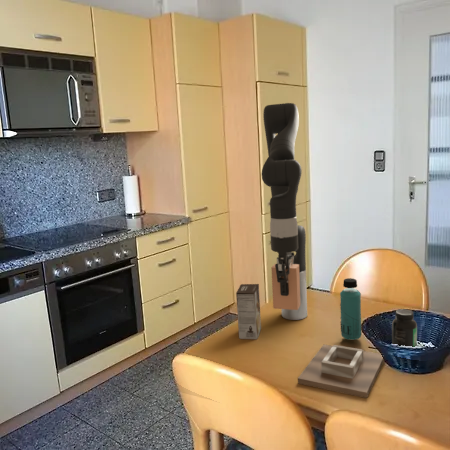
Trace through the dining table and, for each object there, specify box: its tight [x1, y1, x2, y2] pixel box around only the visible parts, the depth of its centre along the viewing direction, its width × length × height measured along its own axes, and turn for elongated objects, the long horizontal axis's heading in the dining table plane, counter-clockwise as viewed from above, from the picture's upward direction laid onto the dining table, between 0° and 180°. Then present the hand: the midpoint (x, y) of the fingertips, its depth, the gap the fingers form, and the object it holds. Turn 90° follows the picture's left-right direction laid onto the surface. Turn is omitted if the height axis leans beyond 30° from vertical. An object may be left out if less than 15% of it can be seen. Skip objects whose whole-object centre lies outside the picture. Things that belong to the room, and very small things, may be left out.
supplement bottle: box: [391, 308, 418, 347], centre depth 139 cm, size 7×7×12 cm
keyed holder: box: [297, 344, 385, 399], centre depth 130 cm, size 22×18×4 cm
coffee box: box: [235, 283, 262, 340], centre depth 157 cm, size 9×6×16 cm
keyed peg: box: [270, 263, 301, 310], centre depth 133 cm, size 4×7×12 cm, turn 71°
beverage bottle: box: [339, 277, 363, 341], centre depth 147 cm, size 6×7×20 cm
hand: (286, 292), depth 133 cm, fingers closed on keyed peg, 4 cm apart
